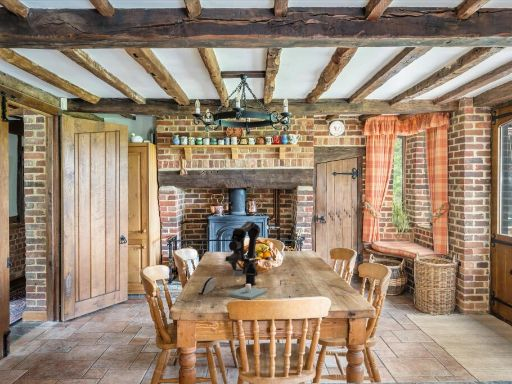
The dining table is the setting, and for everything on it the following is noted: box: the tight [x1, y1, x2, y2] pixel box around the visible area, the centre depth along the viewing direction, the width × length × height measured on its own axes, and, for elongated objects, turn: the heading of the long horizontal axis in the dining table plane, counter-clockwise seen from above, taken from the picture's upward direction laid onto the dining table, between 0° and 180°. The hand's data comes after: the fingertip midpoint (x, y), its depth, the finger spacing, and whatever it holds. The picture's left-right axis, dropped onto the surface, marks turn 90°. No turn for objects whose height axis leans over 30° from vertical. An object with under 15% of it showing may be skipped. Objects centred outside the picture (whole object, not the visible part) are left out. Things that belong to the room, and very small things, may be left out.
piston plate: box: [228, 283, 268, 300], centre depth 248 cm, size 18×16×6 cm
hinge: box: [196, 276, 217, 296], centre depth 256 cm, size 17×5×10 cm, turn 166°
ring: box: [233, 268, 246, 277], centre depth 254 cm, size 7×7×3 cm
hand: (239, 273), depth 254 cm, fingers closed on ring, 7 cm apart
